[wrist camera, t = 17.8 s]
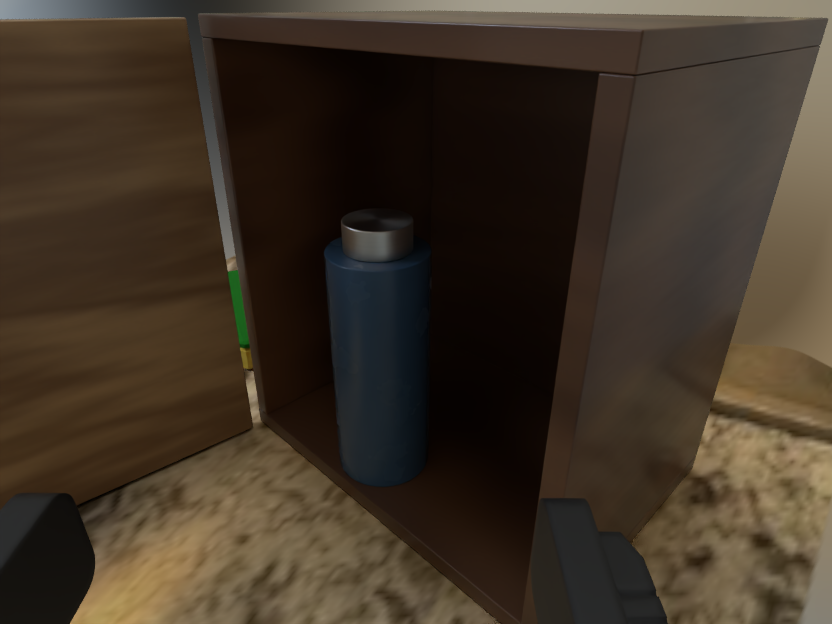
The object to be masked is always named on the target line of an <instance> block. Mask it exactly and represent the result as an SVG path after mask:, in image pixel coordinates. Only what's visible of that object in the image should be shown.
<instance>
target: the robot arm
mask: <svg viewBox="0 0 832 624" xmlns="http://www.w3.org/2000/svg"><path fill="white" fill-rule="evenodd" d="M94 570H95V554H94V551H93V548H92V545H91V543H90V540H89V537H88V535H87V532H86V530H85V527H84V524H83V522H82V519H81V516H80V514H79V511H78V509H77V506H76V503H75V501H74V499H73V497H72V496H71V495H69V494H67V493H19V494H16V495H15V496H13V497H12V498H11V499H10V500H9V501H8V502H7V503H6V504H5V505H4V506H3V508H2V509H1V510H0V624H70V622H71V620H72V619H73V617H74V615H75V613H76V612H77V610H78V608H79V606H80V604H81V603H82V601H83V599H84V597H85V596H86V594H87V592H88V590H89V588H90V585H91V582H92V579H93V575H94ZM531 585H532V593H533V599H534V605H535V610H536V615H537V621H538V624H668V623H667V616H666V614H665V611H664V609H663V606H662V604H661V601H660V599H659V597H657V595H656V589H655V586H654V584H653V581H652V579H651V576H650V574H649V571H648V569H647V566H646V564H645V561H644V559H643V557H642V556H641V555H640V554H639V553H638V552H637V551H636V549H635V548H634V547H633V546H632V545H631V544H630V543H629V541H628V540H627V539H626V538H625V537H624V536H623V534H622V533H621V532H598V529H597V526H596V523H595V520H594V517H593V514H592V511H591V508H590V506H589V503H588V502H587V500H586V499H585V498H541V499H540V501H539V505H538V512H537V519H536V526H535V533H534V540H533V547H532V554H531Z"/></svg>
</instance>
